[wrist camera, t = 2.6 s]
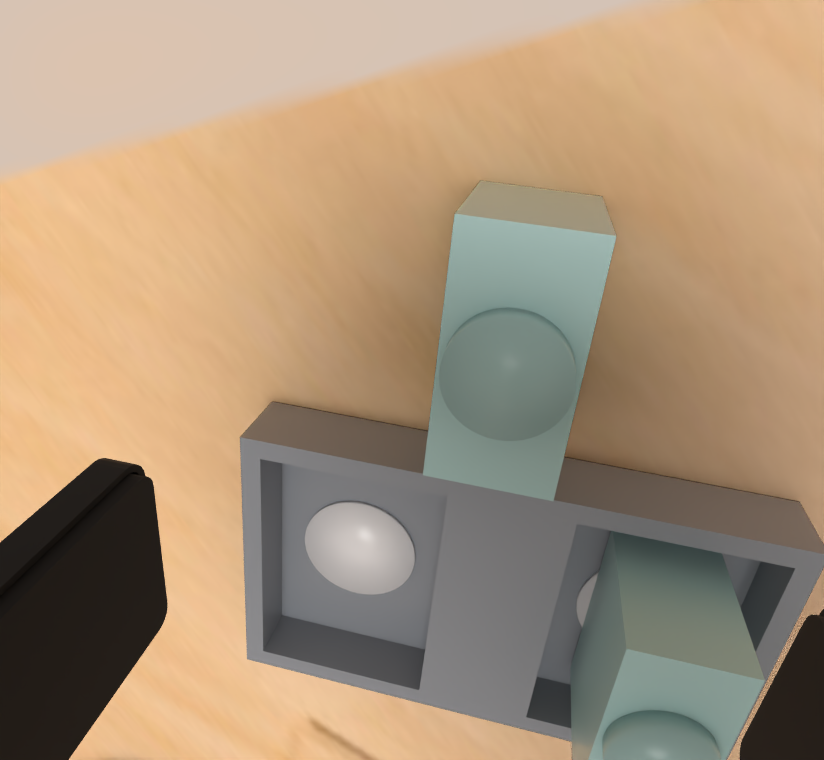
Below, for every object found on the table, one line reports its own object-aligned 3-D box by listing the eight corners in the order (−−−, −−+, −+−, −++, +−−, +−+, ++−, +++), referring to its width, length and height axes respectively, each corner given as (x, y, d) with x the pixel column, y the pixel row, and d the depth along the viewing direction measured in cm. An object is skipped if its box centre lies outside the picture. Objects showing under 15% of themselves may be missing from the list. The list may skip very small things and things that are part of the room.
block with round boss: (601, 195, 21) (619, 243, 15) (554, 409, 24) (553, 517, 18) (481, 180, 21) (449, 219, 15) (452, 390, 25) (417, 490, 19)
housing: (799, 501, 24) (897, 675, 17) (703, 714, 29) (747, 912, 22) (271, 401, 27) (171, 513, 20) (272, 611, 32) (194, 756, 25)
